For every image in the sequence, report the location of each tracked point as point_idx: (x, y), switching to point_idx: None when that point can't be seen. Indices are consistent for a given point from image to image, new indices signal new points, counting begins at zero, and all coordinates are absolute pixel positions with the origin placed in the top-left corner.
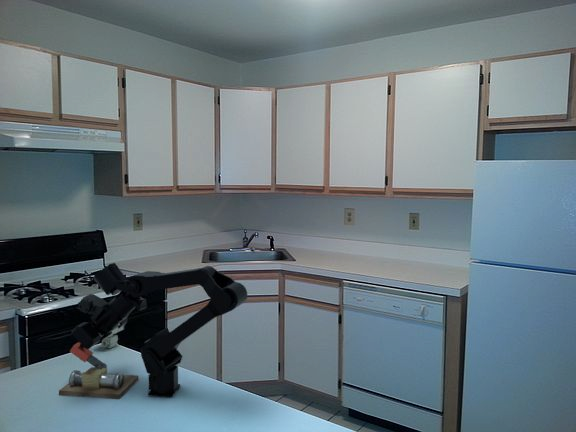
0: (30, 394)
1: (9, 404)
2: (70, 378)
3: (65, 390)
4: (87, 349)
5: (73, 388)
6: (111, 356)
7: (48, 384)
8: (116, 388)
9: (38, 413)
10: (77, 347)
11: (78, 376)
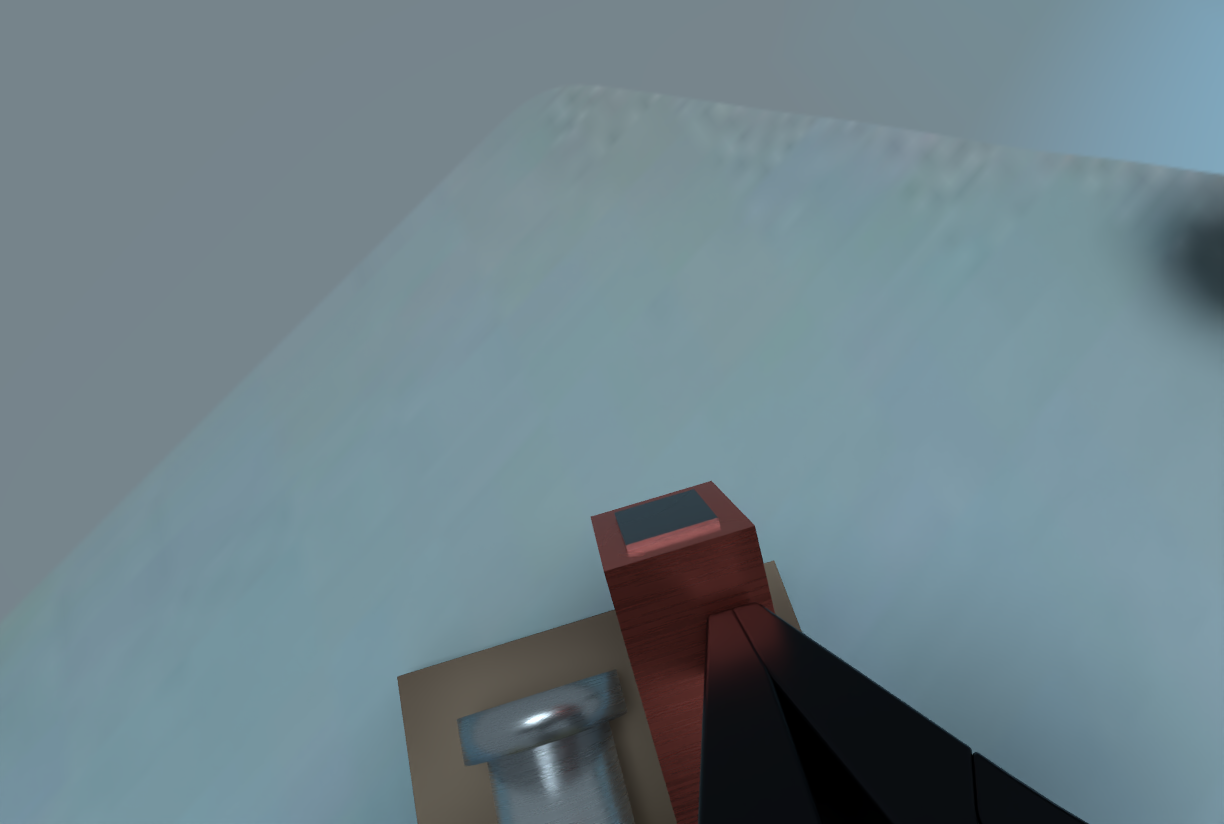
0: (362, 454)
1: (202, 456)
2: (461, 734)
3: (413, 739)
4: None
5: (472, 778)
6: (1202, 452)
7: (534, 431)
8: None
9: (104, 799)
10: (630, 643)
11: (505, 813)
